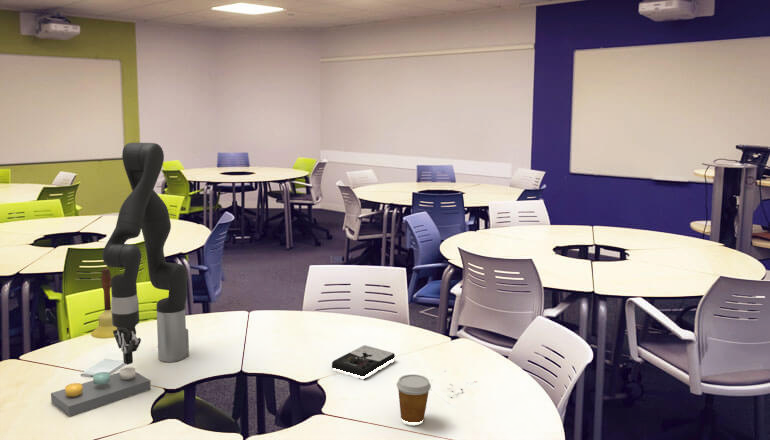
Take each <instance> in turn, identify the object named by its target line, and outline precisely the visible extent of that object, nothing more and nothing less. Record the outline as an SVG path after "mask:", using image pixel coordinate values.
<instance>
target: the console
mask: <svg viewBox="0 0 770 440" xmlns="http://www.w3.org/2000/svg"><path fill="white" fill-rule="evenodd" d="M135 372H136V376H135V377H134V378H131V379H121V378H120V371H119V372H117V373H112V374H110V381H109V382H108V383H106V384H101V385H97V384H94V382H93V380H89V381H86V382H83V383H81V384H82V389H83V392H82V393H81V394H80V395H77V396H66V394H65V388H64V389H59V390H57V391H54V392H50V399H51V400H50V401H51V404H52V405H54V407H56V409H57V408H58V409H59V410H60V411H61V412H63V413H64V414H65V415H67V416H68V417H73V416H76V415H79V414H82V413H85V412H88V411H91V410H93V409H97V408H99V407H103V406H105V405H108V404H111V403H115V402H117V401H121V400H123V399H126V398H130V397H133V396H136V395H139V394H141V393H145V392H148V391H150V390H152V387H151V379H149V378H147V377H145V376H144V375H142V374H140V373H138V372H137V371H135Z"/></svg>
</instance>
